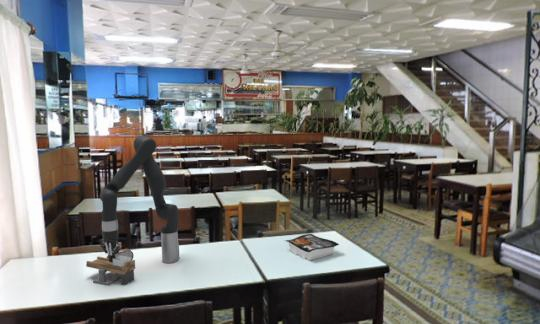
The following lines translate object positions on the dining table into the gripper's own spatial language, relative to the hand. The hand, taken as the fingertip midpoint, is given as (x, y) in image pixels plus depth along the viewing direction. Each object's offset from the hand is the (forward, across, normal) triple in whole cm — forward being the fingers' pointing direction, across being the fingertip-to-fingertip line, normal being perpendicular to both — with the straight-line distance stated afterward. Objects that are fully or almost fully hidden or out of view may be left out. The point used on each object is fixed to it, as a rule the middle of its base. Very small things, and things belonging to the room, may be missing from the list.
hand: (112, 261), depth 194 cm
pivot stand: (+9, -2, 0) cm, 10 cm away
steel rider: (+2, -7, 0) cm, 7 cm away
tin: (+10, +11, -16) cm, 22 cm away
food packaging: (+10, -84, -72) cm, 111 cm away
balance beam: (+3, +2, 0) cm, 4 cm away
